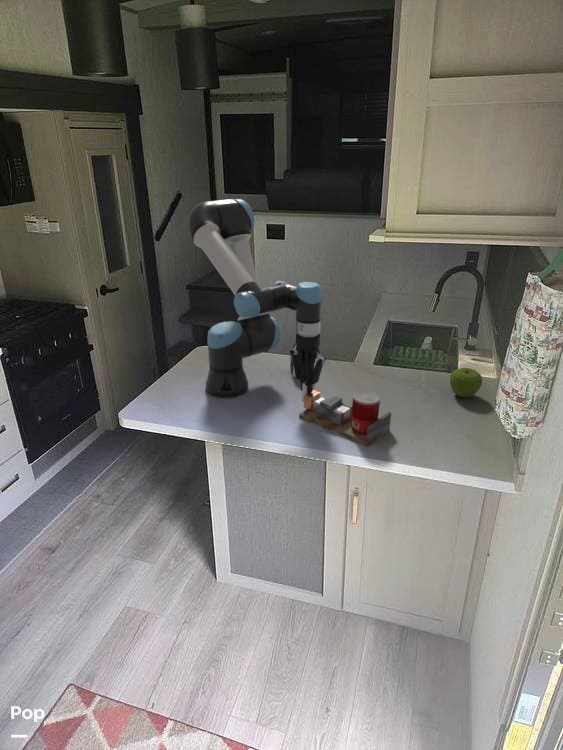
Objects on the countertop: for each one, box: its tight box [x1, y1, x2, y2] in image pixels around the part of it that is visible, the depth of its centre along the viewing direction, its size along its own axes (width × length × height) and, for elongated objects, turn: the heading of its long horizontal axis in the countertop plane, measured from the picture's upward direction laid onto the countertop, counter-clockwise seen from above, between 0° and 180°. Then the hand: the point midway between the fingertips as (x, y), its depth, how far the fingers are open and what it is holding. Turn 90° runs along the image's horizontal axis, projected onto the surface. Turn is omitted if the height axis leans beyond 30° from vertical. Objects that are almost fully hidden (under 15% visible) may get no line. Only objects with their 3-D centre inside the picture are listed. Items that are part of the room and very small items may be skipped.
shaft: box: [303, 389, 350, 423], centre depth 165 cm, size 15×5×5 cm, turn 50°
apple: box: [449, 367, 483, 398], centre depth 178 cm, size 11×10×10 cm
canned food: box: [351, 390, 381, 435], centre depth 155 cm, size 8×8×11 cm
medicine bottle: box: [289, 342, 297, 378], centre depth 193 cm, size 7×7×12 cm
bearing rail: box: [298, 394, 392, 447], centre depth 161 cm, size 26×12×7 cm, turn 50°
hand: (306, 400), depth 170 cm, fingers closed
